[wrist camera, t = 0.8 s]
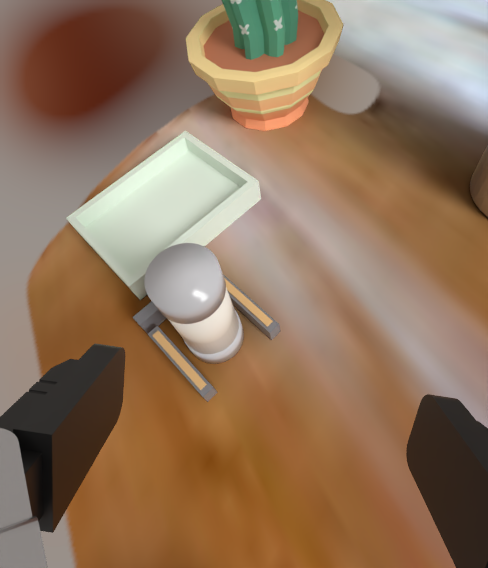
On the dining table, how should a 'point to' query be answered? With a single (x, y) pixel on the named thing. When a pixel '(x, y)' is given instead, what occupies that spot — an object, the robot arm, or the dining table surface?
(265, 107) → the potted cactus
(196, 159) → the parts tray
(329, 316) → the dining table surface
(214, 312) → the fuse
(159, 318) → the grey u-shaped bracket
